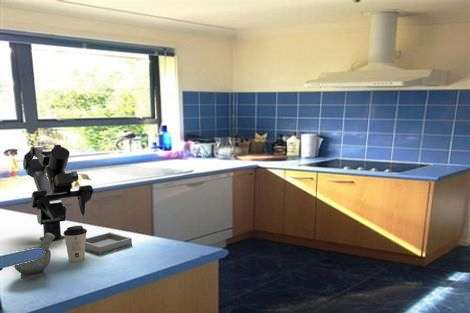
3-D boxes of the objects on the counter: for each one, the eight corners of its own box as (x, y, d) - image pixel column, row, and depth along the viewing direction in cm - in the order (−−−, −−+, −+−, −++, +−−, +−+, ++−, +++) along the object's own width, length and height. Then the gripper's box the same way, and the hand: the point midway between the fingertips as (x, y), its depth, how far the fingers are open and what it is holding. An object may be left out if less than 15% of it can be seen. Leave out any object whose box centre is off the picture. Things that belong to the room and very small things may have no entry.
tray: (78, 247, 150) (77, 240, 149) (110, 239, 159) (109, 232, 159) (99, 255, 142) (99, 247, 141) (131, 245, 151) (131, 238, 151)
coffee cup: (81, 263, 134) (79, 231, 133) (60, 262, 135) (58, 230, 134) (92, 256, 141) (91, 225, 140) (72, 255, 142) (70, 224, 141)
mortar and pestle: (12, 285, 117) (9, 241, 116) (13, 274, 126) (10, 233, 125) (58, 278, 122) (55, 236, 121) (56, 267, 130) (54, 228, 129)
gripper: (30, 166, 138) (41, 206, 131) (90, 161, 149) (103, 198, 142) (26, 187, 146) (36, 227, 138) (83, 181, 157) (96, 217, 149)
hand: (69, 217), depth 141 cm, fingers open, 9 cm apart
